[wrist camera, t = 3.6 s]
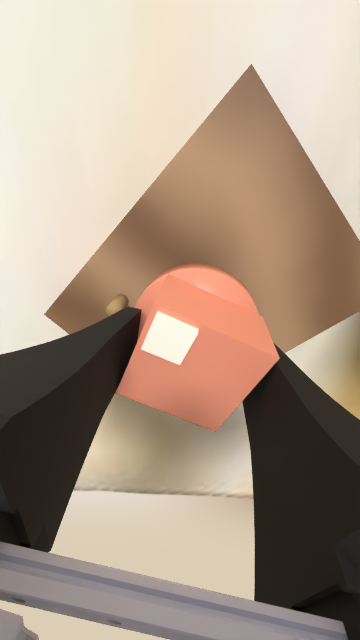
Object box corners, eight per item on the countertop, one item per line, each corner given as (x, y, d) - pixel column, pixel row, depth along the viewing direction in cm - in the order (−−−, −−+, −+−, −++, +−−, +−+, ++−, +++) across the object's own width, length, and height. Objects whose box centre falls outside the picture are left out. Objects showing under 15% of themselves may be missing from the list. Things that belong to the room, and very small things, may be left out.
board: (174, 405, 19) (169, 432, 17) (53, 307, 16) (28, 326, 14) (379, 286, 13) (413, 305, 11) (247, 75, 9) (259, 41, 7)
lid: (220, 381, 14) (223, 455, 10) (123, 342, 13) (89, 404, 9) (282, 297, 11) (321, 356, 7) (162, 240, 10) (133, 271, 6)
